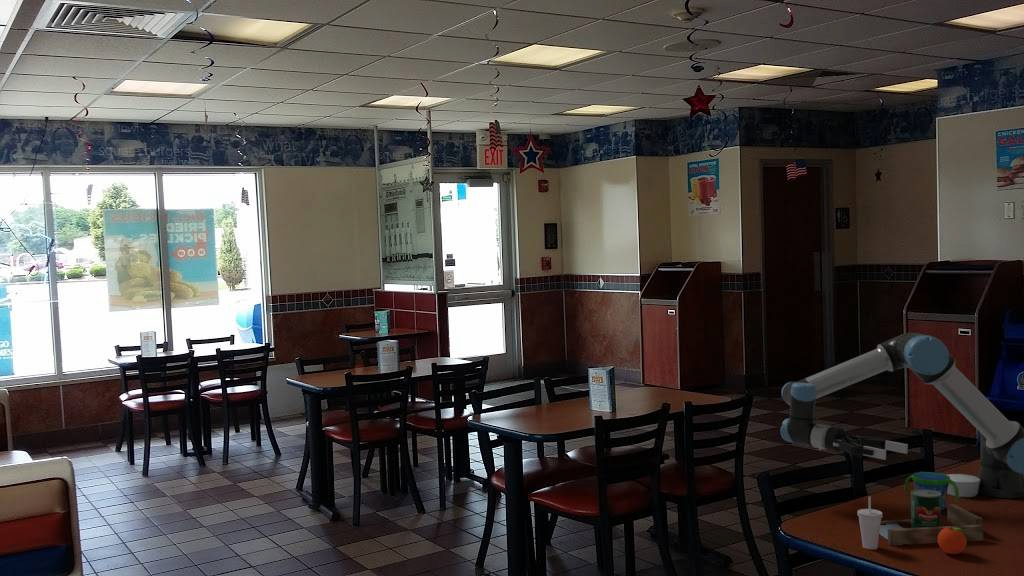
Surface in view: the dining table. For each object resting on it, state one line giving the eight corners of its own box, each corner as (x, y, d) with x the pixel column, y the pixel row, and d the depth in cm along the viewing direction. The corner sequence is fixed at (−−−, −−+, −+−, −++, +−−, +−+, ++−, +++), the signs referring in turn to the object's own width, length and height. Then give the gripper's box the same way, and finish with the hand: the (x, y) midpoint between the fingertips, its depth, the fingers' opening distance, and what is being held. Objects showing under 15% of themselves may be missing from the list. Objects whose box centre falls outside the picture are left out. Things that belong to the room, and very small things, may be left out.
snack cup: (898, 506, 279) (898, 474, 279) (914, 500, 286) (914, 468, 286) (948, 517, 267) (948, 483, 267) (964, 510, 274) (964, 477, 274)
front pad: (896, 525, 261) (896, 524, 261) (922, 540, 247) (922, 539, 247) (867, 526, 261) (867, 525, 261) (891, 542, 247) (891, 541, 247)
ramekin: (934, 492, 295) (934, 476, 295) (957, 487, 300) (957, 472, 299) (963, 500, 285) (963, 484, 284) (987, 495, 289) (987, 479, 289)
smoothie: (856, 549, 242) (855, 498, 241) (859, 542, 247) (858, 492, 247) (881, 552, 239) (881, 500, 238) (884, 545, 244) (883, 494, 244)
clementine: (961, 548, 240) (961, 522, 240) (976, 557, 233) (976, 530, 233) (932, 549, 240) (932, 523, 240) (945, 558, 233) (945, 531, 233)
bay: (951, 520, 265) (951, 503, 265) (990, 540, 246) (990, 522, 246) (858, 524, 263) (858, 507, 262) (890, 545, 244) (890, 527, 244)
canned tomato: (924, 536, 251) (923, 497, 250) (904, 528, 259) (904, 490, 258) (947, 533, 253) (947, 494, 253) (927, 525, 261) (927, 487, 260)
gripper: (848, 445, 286) (914, 459, 271) (807, 455, 270) (875, 470, 254) (850, 422, 286) (916, 434, 270) (808, 430, 270) (876, 444, 254)
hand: (896, 452), depth 262 cm, fingers open, 13 cm apart
